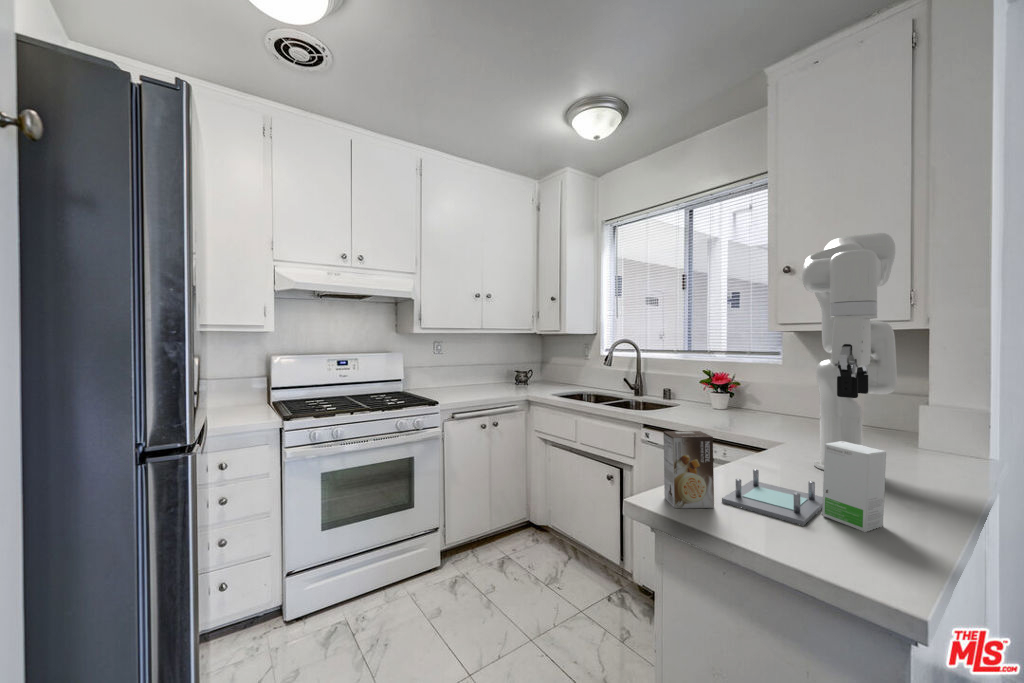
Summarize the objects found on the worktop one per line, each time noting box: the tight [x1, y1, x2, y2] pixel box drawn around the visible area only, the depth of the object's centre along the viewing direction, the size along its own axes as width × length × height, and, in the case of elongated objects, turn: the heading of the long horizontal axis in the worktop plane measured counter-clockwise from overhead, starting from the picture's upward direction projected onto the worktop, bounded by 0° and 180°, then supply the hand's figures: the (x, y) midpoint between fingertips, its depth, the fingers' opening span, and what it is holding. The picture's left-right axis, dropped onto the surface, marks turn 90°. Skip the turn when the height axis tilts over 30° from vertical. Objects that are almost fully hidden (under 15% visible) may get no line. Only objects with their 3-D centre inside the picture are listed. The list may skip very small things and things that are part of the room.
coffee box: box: [662, 430, 715, 509], centre depth 96 cm, size 9×6×16 cm
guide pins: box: [735, 468, 816, 514], centre depth 95 cm, size 12×13×4 cm
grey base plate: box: [721, 479, 823, 527], centre depth 95 cm, size 18×16×1 cm
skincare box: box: [821, 441, 887, 533], centre depth 85 cm, size 8×7×16 cm
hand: (853, 395), depth 85 cm, fingers open, 9 cm apart
